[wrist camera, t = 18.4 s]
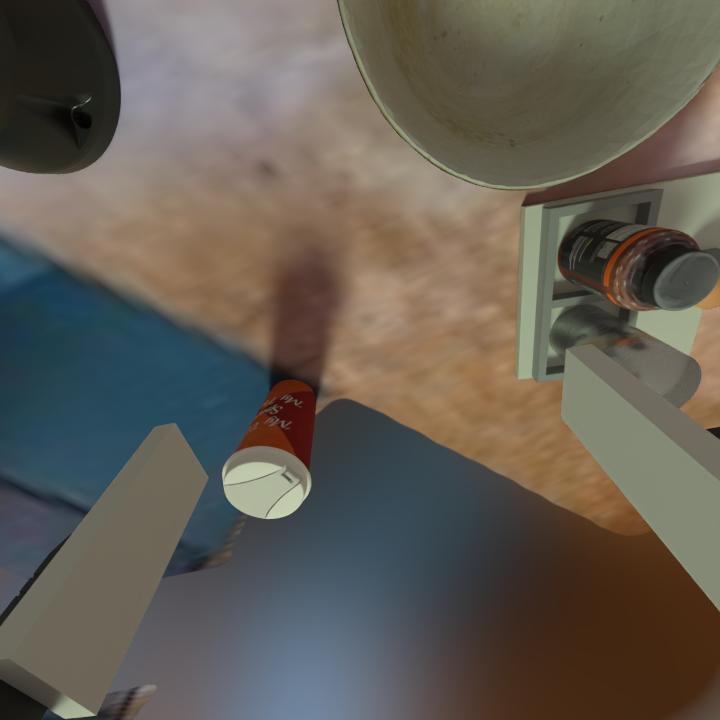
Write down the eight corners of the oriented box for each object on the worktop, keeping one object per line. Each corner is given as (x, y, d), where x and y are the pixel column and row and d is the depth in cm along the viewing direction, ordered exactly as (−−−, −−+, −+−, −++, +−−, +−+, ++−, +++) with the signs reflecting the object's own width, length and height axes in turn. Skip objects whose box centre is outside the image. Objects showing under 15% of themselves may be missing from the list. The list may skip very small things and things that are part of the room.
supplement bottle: (612, 280, 34) (717, 324, 24) (549, 285, 34) (627, 330, 24) (629, 214, 31) (755, 231, 21) (560, 220, 31) (653, 239, 21)
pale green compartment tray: (521, 206, 32) (532, 208, 30) (733, 168, 30) (762, 167, 28) (514, 375, 40) (523, 386, 38) (681, 351, 38) (701, 362, 36)
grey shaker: (551, 309, 35) (623, 359, 26) (613, 300, 35) (711, 347, 25) (546, 361, 38) (610, 424, 28) (604, 353, 38) (689, 414, 28)
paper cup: (296, 359, 39) (265, 442, 27) (338, 404, 42) (327, 499, 30) (246, 393, 41) (196, 485, 29) (289, 434, 44) (260, 534, 32)
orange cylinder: (680, 267, 32) (699, 272, 30) (723, 260, 31) (744, 265, 29) (670, 305, 33) (688, 312, 31) (711, 299, 33) (731, 305, 31)
